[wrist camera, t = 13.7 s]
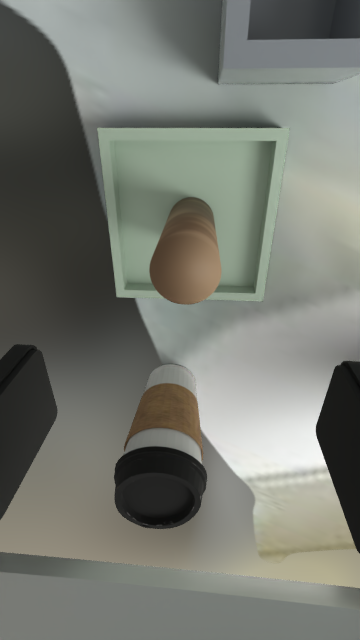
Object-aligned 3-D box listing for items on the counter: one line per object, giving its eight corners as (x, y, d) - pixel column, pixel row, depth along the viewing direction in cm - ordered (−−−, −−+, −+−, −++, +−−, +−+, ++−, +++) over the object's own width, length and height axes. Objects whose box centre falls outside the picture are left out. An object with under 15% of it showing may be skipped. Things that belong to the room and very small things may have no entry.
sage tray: (282, 128, 25) (289, 128, 22) (258, 289, 32) (262, 301, 30) (106, 128, 25) (97, 128, 23) (122, 286, 33) (116, 297, 30)
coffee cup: (130, 395, 41) (98, 517, 28) (149, 346, 36) (120, 464, 24) (191, 413, 42) (186, 539, 29) (216, 367, 37) (223, 491, 25)
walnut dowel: (215, 197, 27) (223, 237, 16) (212, 243, 29) (219, 305, 18) (168, 196, 27) (147, 235, 17) (169, 243, 29) (151, 303, 19)
